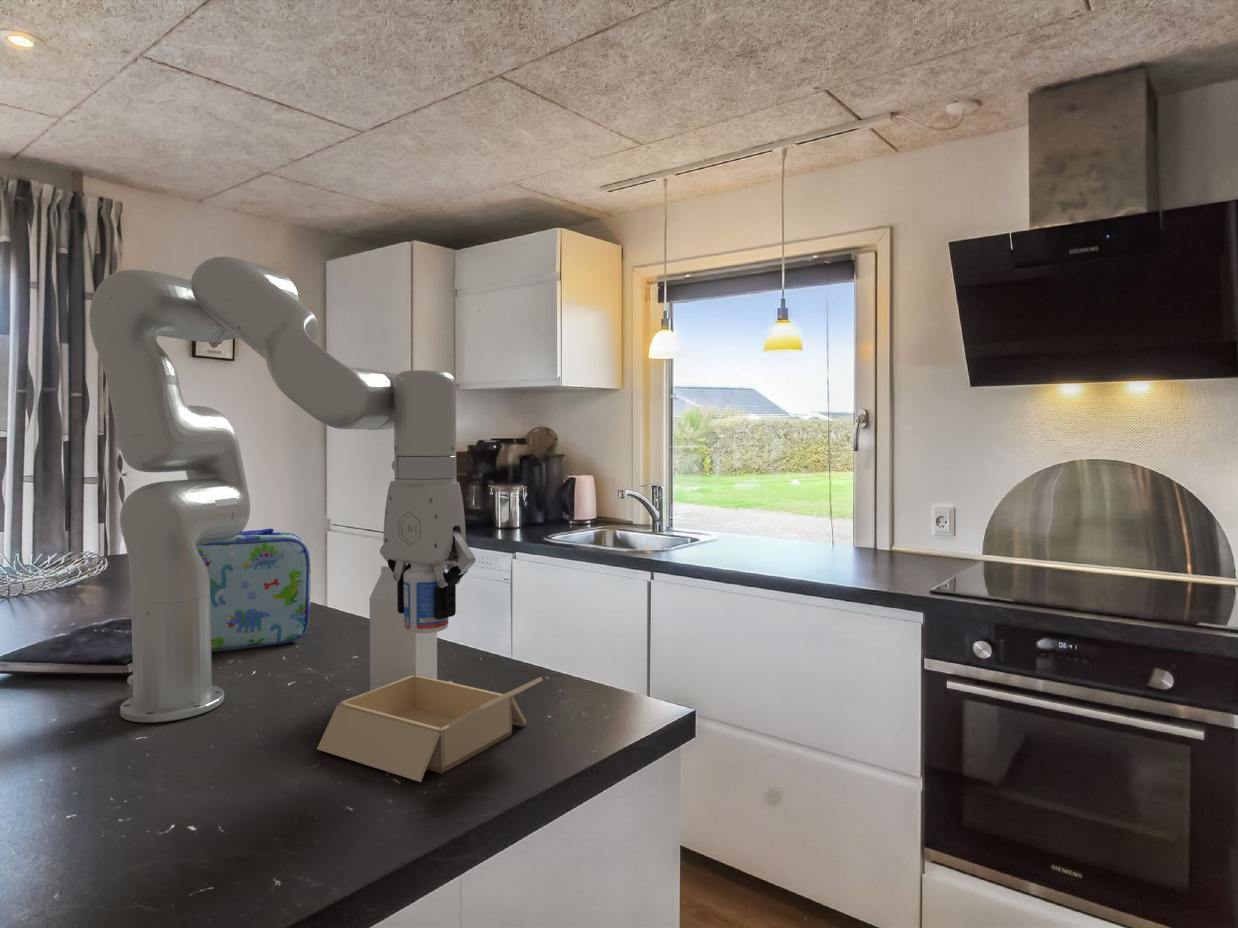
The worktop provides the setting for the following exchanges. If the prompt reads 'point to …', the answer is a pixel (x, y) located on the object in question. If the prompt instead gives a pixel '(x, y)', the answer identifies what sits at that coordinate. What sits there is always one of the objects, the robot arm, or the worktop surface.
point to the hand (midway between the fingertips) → (426, 612)
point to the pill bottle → (421, 600)
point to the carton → (417, 726)
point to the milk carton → (396, 639)
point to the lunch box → (257, 589)
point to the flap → (494, 701)
